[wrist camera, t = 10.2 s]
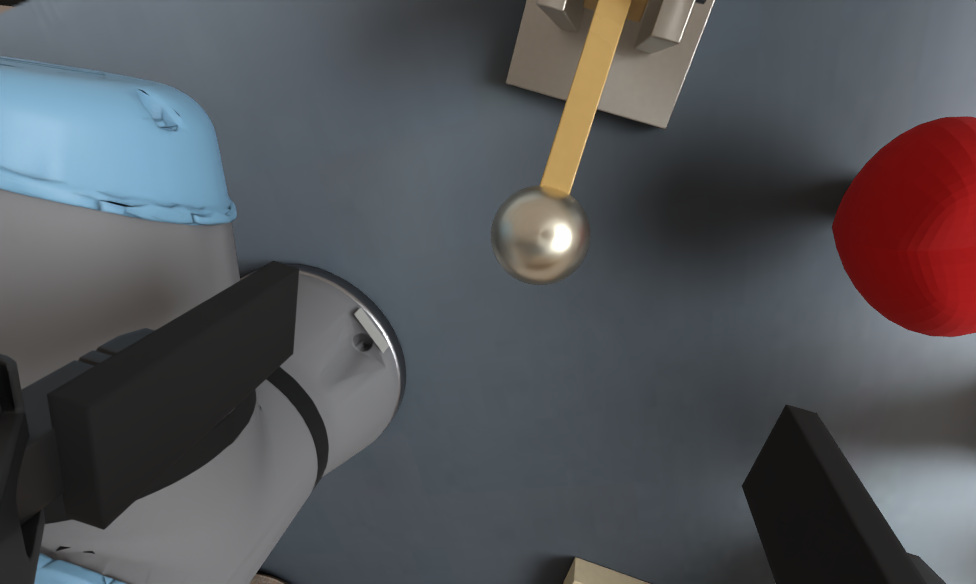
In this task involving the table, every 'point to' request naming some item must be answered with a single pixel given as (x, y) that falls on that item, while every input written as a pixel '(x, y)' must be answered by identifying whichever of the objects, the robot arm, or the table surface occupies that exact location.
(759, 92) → the table surface
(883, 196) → the red lobed blob
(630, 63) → the power switch
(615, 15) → the power lever
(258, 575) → the planter
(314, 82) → the table surface
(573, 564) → the light button base
